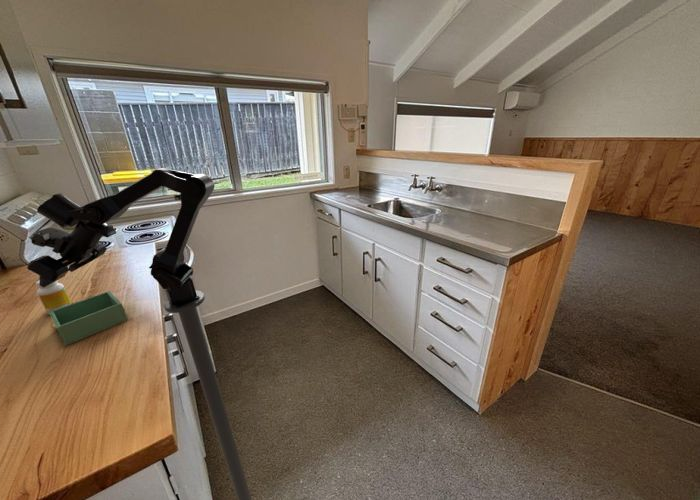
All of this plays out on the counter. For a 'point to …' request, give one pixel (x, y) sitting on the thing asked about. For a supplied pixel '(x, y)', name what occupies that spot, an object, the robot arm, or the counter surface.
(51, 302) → the supplement bottle
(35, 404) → the counter surface
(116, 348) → the counter surface
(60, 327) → the open box
